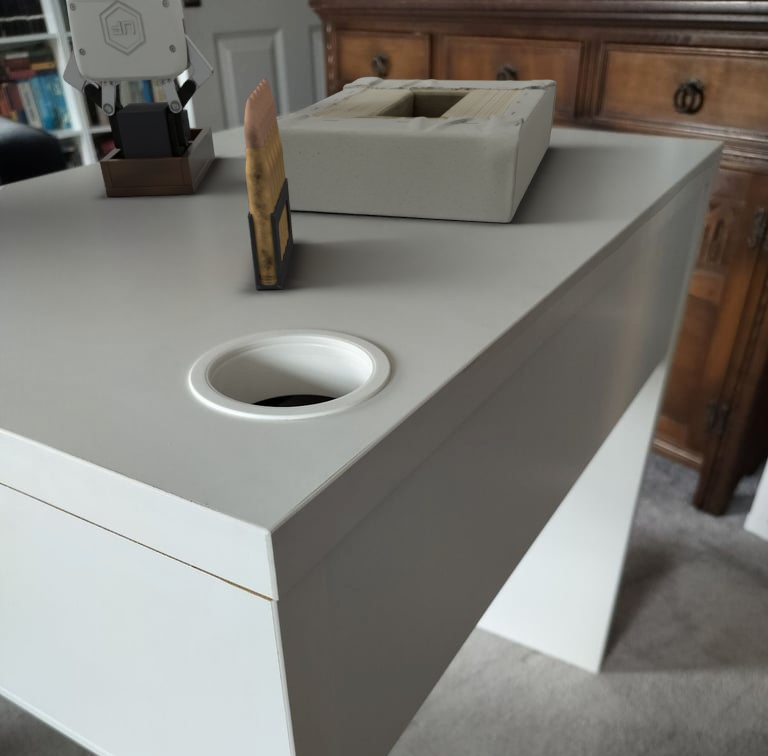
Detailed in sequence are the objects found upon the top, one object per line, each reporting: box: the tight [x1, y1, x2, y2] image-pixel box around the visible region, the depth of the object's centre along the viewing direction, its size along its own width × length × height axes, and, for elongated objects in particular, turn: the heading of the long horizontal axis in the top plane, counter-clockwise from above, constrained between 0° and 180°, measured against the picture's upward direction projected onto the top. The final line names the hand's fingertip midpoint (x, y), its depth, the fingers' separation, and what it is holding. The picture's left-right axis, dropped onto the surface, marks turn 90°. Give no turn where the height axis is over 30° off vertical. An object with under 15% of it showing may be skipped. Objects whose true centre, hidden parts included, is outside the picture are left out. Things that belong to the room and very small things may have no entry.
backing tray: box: [99, 126, 216, 198], centre depth 83 cm, size 9×16×3 cm, turn 3°
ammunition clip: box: [243, 78, 294, 291], centre depth 56 cm, size 11×2×12 cm, turn 1°
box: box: [277, 76, 558, 224], centre depth 79 cm, size 23×8×32 cm
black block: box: [116, 101, 174, 159], centre depth 78 cm, size 4×6×5 cm
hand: (153, 153), depth 79 cm, fingers closed on black block, 4 cm apart
